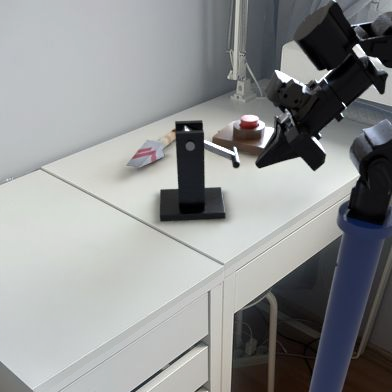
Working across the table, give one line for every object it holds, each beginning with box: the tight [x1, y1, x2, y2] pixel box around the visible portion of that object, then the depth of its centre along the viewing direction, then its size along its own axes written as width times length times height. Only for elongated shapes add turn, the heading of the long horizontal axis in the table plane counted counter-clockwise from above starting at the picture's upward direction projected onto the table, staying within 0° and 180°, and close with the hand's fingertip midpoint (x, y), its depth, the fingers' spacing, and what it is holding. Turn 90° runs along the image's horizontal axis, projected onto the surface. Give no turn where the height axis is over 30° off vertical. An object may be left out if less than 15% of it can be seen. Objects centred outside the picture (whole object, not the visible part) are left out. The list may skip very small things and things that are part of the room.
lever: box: [182, 125, 241, 169], centre depth 81 cm, size 10×6×2 cm, turn 92°
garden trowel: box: [125, 127, 176, 169], centre depth 103 cm, size 4×3×20 cm
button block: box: [211, 119, 274, 156], centre depth 106 cm, size 12×10×4 cm
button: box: [240, 114, 259, 129], centre depth 104 cm, size 4×4×2 cm
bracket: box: [159, 119, 226, 222], centre depth 83 cm, size 11×9×14 cm
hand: (256, 165), depth 83 cm, fingers closed
